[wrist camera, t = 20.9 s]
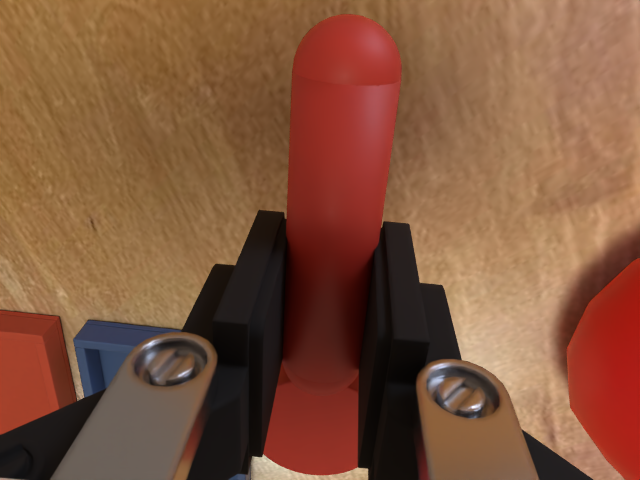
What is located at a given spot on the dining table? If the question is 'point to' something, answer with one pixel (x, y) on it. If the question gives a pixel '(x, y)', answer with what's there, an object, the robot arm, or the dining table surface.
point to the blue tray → (112, 354)
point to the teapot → (610, 371)
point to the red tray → (32, 368)
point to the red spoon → (332, 236)
